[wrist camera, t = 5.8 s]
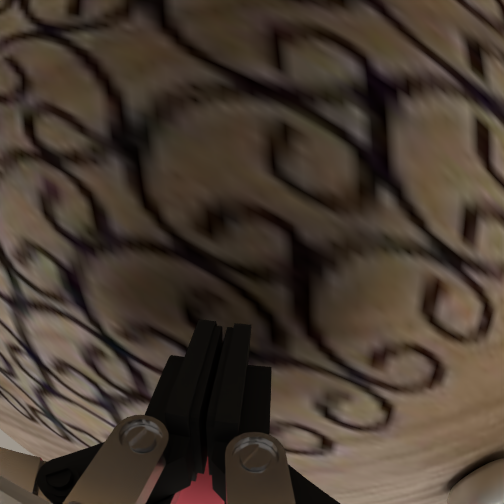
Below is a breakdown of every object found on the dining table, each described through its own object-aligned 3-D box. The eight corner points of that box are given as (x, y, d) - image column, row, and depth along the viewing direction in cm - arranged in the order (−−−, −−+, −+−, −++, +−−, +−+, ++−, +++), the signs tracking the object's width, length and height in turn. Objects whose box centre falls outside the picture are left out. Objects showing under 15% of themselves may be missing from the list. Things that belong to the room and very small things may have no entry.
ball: (146, 541, 10) (172, 457, 16) (261, 563, 10) (273, 474, 15) (116, 518, 8) (159, 404, 13) (281, 553, 7) (292, 427, 12)
